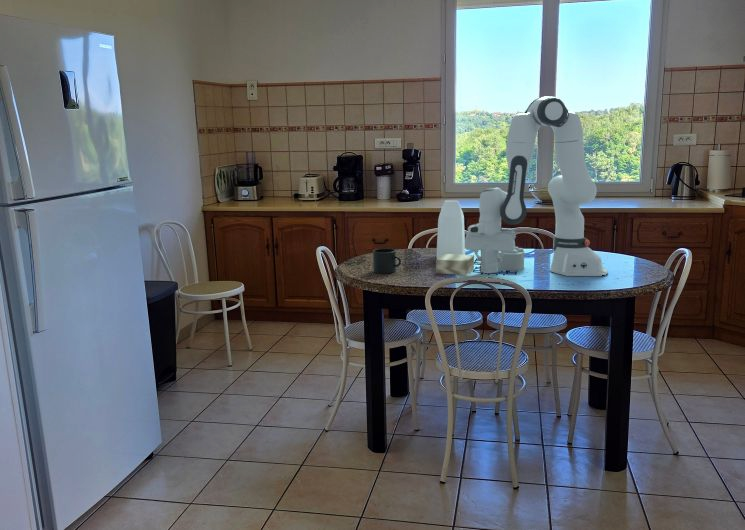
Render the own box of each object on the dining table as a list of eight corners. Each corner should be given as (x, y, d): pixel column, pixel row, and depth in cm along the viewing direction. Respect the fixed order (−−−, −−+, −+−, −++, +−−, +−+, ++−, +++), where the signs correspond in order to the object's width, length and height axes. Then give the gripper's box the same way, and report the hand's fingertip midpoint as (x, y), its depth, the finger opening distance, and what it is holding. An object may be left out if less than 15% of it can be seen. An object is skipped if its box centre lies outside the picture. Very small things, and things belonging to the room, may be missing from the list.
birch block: (473, 269, 276) (474, 255, 275) (467, 275, 264) (467, 261, 263) (444, 267, 281) (444, 253, 279) (436, 273, 269) (436, 259, 267)
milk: (436, 258, 298) (436, 201, 293) (439, 254, 309) (440, 199, 304) (462, 259, 295) (463, 202, 290) (465, 254, 306) (466, 199, 301)
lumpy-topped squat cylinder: (495, 269, 273) (496, 249, 271) (502, 263, 285) (502, 244, 283) (521, 271, 269) (521, 250, 267) (526, 265, 281) (526, 245, 279)
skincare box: (493, 270, 271) (493, 242, 269) (498, 272, 267) (498, 243, 265) (479, 271, 269) (480, 243, 267) (484, 273, 265) (485, 244, 263)
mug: (396, 275, 266) (396, 253, 264) (369, 273, 270) (369, 251, 268) (404, 270, 274) (404, 249, 272) (378, 268, 279) (378, 247, 277)
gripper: (516, 227, 265) (515, 260, 267) (466, 226, 270) (466, 258, 273) (515, 229, 259) (514, 263, 261) (464, 228, 264) (463, 261, 267)
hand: (489, 261), depth 267 cm, fingers closed on skincare box, 7 cm apart
